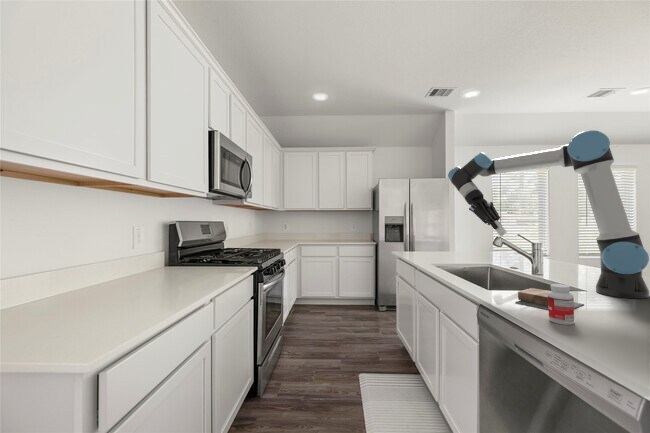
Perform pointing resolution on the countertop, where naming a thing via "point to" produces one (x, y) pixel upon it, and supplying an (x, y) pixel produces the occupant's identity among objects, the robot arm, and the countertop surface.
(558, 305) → the pill bottle
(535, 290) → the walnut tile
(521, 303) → the dark grey rubber mat
